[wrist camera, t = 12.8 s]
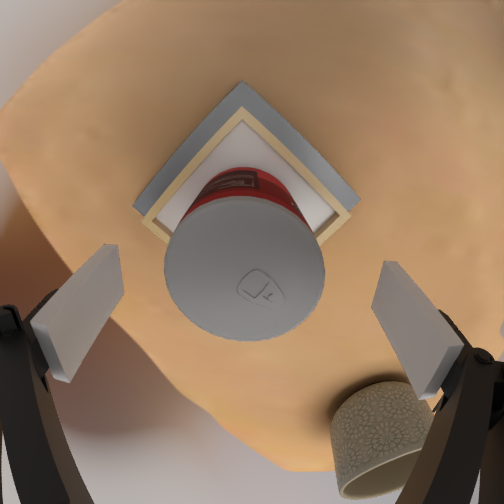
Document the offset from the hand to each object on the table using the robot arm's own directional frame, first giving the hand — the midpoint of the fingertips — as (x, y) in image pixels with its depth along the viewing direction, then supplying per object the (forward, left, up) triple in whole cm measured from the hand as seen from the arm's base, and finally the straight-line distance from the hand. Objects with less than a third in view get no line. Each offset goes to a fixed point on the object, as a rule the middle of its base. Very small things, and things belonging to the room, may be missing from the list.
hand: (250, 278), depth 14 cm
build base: (0, 0, -17) cm, 17 cm away
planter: (+10, +38, -17) cm, 43 cm away
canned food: (0, 0, -11) cm, 11 cm away
